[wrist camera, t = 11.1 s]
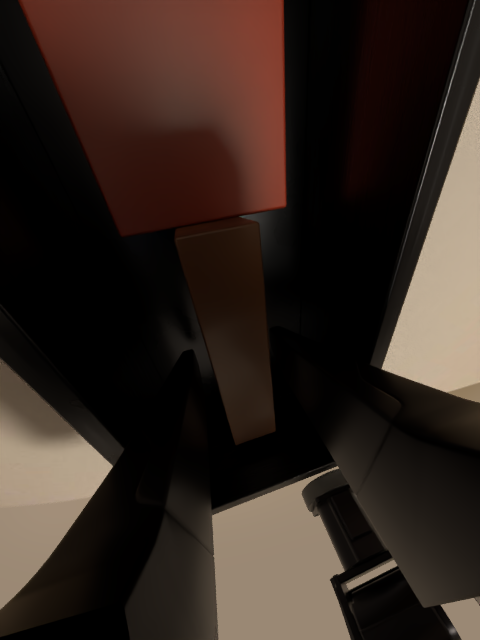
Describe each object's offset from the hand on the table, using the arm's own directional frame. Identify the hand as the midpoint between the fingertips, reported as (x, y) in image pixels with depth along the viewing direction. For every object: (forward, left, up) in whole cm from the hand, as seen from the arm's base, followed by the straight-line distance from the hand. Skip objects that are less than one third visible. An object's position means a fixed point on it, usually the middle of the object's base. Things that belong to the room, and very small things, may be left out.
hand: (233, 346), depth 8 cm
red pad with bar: (+3, 0, -1) cm, 3 cm away
